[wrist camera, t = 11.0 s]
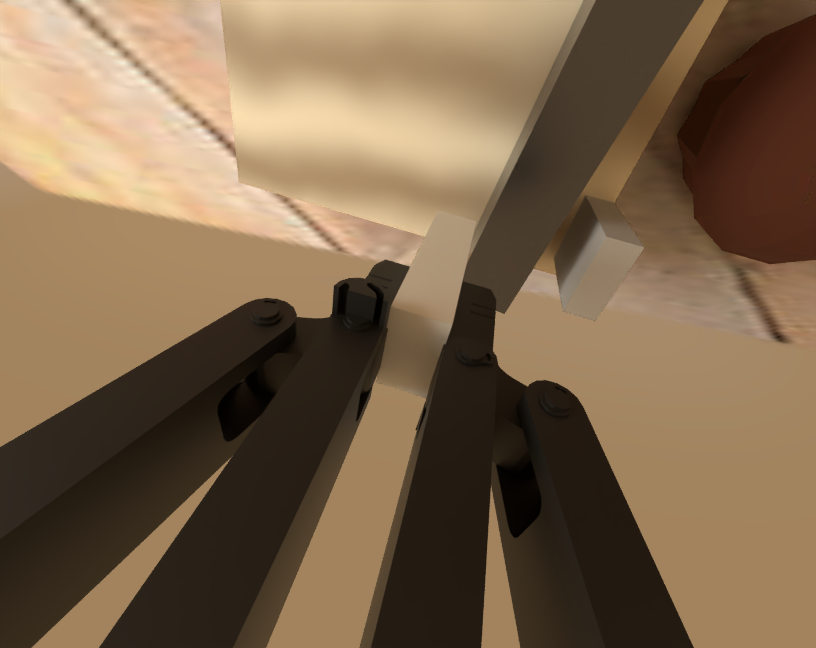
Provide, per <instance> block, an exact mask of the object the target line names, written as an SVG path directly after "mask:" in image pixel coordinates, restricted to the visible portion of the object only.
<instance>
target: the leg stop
mask: <svg viewBox="0 0 816 648" xmlns="http://www.w3.org/2000/svg"><path fill="white" fill-rule="evenodd" d="M644 248H645V247H644V246H643V244H642V243H641V241H640V240H639V238H638V237H637V235H636V234H635V232H634V231H633V229H632V228H631V226H630V225H629V223H628V222H627V220H626V219H625V218H624V216H623V215H622V213H621V212H620V210H619V209H618V207H617V206H616V204H615V203H614V202H610V201H606V200H603V199H599V198H595V197H592V196H588V195H585V197H584V199H583V201H582V203H581V205H580V207H579V209H578V211H577V213H576V215H575V217H574V219H573V221H572V223H571V225H570V227H569V229H568V231H567V233H566V235H565V237H564V239H563V241H562V243H561V245H560V247H559V249H558V251H557V253H556V255H555V257H554V264H555V269H556V275H557V281H558V286H559V292H560V298H561V303H562V309H563V312H566V313H570V314H573V315H576V316H580V317H583V318H587V319H590V320H593V321H596V320H597V318H598V316H599V315H600V314H601V312H602V311H603V309H604V308H605V306H606V305H607V303H608V302H609V300H610V299H611V297H612V296H613V294H614V293H615V291H616V290H617V288H618V287H619V285H620V284H621V282H622V281H623V279H624V278H625V276H626V275H627V273H628V272H629V270H630V269H631V267H632V266H633V264H634V263H635V261H636V260H637V258H638V257H639V255H640V254H641V252H642V251H643V249H644Z"/></svg>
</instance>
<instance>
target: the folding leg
mask: <svg viewBox="0 0 816 648" xmlns="http://www.w3.org/2000/svg"><path fill="white" fill-rule="evenodd" d="M703 1H704V0H583V2H582V5H581V7H580V9H579V11H578V13H577V15H576V17H575V19H574V21H573V24H572V26H571V28H570V30H569V32H568V34H567V36H566V38H565V40H564V43H563V45H562V47H561V49H560V51H559V53H558V55H557V57H556V59H555V62H554V64H553V66H552V68H551V70H550V72H549V74H548V76H547V79H546V81H545V83H544V85H543V87H542V89H541V91H540V93H539V95H538V98H537V100H536V102H535V104H534V106H533V108H532V110H531V112H530V114H529V117H528V119H527V121H526V123H525V125H524V127H523V129H522V131H521V133H520V136H519V138H518V140H517V142H516V144H515V146H514V148H513V150H512V152H511V155H510V157H509V159H508V161H507V163H506V165H505V167H504V169H503V172H502V174H501V176H500V178H499V180H498V182H497V184H496V186H495V188H494V191H493V193H492V195H491V197H490V199H489V201H488V203H487V205H486V207H485V210H484V212H483V214H482V216H481V218H480V220H479V222H478V224H477V226H476V229H475V231H474V233H473V238H472V242H471V246H470V251H469V255H468V259H467V264H466V268H465V272H464V277H463V281H464V282H468V283H471V284H474V285H478V286H481V287H485V288H488V289H491V290H492V292H493V294H494V296H495V298H496V300H497V301H496V311H498V312H501V313H503V314H505V312H506V310H507V309H508V307H509V306H510V304H511V303H512V301H513V300H514V298H515V296H516V295H517V293H518V292H519V290H520V289H521V287H522V285H523V284H524V282H525V281H526V279H527V278H528V276H529V274H530V273H531V271H532V270H533V268H534V267H535V265H536V263H537V262H538V260H539V259H540V257H541V256H542V254H543V252H544V251H545V249H546V248H547V246H548V245H549V243H550V241H551V240H552V238H553V237H554V235H555V234H556V232H557V231H558V229H559V227H560V226H561V224H562V223H563V221H564V220H565V218H566V216H567V215H568V213H569V212H570V210H571V209H572V207H573V205H574V204H575V202H576V201H577V199H578V198H579V196H580V194H581V193H582V191H583V190H584V188H585V187H586V185H587V183H588V182H589V180H590V179H591V177H592V176H593V174H594V172H595V171H596V169H597V168H598V166H599V165H600V163H601V161H602V160H603V158H604V157H605V155H606V154H607V152H608V150H609V149H610V147H611V146H612V144H613V143H614V141H615V139H616V138H617V136H618V135H619V133H620V132H621V130H622V128H623V127H624V125H625V124H626V122H627V121H628V119H629V117H630V116H631V114H632V113H633V111H634V110H635V108H636V106H637V105H638V103H639V102H640V100H641V99H642V97H643V95H644V94H645V92H646V91H647V89H648V88H649V86H650V84H651V83H652V81H653V80H654V78H655V77H656V75H657V73H658V72H659V70H660V69H661V67H662V66H663V64H664V62H665V61H666V59H667V58H668V56H669V55H670V53H671V51H672V50H673V48H674V47H675V45H676V44H677V42H678V40H679V39H680V37H681V36H682V34H683V33H684V31H685V29H686V28H687V26H688V25H689V23H690V22H691V20H692V18H693V17H694V15H695V14H696V12H697V11H698V9H699V8H700V6H701V4H702V3H703Z"/></svg>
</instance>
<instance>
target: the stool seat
mask: <svg viewBox="0 0 816 648" xmlns="http://www.w3.org/2000/svg"><path fill="white" fill-rule="evenodd" d="M582 2H583V0H220V4H221V13H222V23H223V32H224V42H225V52H226V61H227V71H228V81H229V90H230V100H231V110H232V119H233V129H234V139H235V148H236V158H237V168H238V177H239V183H242V184H246V185H249V186H253V187H256V188H260V189H263V190H266V191H270V192H273V193H277V194H280V195H284V196H287V197H290V198H294V199H297V200H301V201H304V202H308V203H311V204H314V205H318V206H321V207H325V208H328V209H332V210H335V211H339V212H342V213H345V214H349V215H352V216H356V217H359V218H363V219H366V220H369V221H373V222H376V223H380V224H383V225H387V226H390V227H393V228H397V229H400V230H404V231H407V232H411V233H414V234H417V235H421V236H424V237H425V236H426V234H427V232H428V230H429V228H430V226H431V224H432V222H433V220H434V217H435V215H436V213H437V211H441V212H444V213H448V214H452V215H455V216H459V217H462V218H466V219H469V220H473V221H476V225H475V229H476V226H477V224H478V222H479V220H480V218H481V216H482V214H483V212H484V210H485V207H486V205H487V203H488V201H489V199H490V197H491V195H492V193H493V191H494V188H495V186H496V184H497V182H498V180H499V178H500V176H501V174H502V172H503V169H504V167H505V165H506V163H507V161H508V159H509V157H510V155H511V152H512V150H513V148H514V146H515V144H516V142H517V140H518V138H519V136H520V133H521V131H522V129H523V127H524V125H525V123H526V121H527V119H528V117H529V114H530V112H531V110H532V108H533V106H534V104H535V102H536V100H537V98H538V95H539V93H540V91H541V89H542V87H543V85H544V83H545V81H546V79H547V76H548V74H549V72H550V70H551V68H552V66H553V64H554V62H555V59H556V57H557V55H558V53H559V51H560V49H561V47H562V45H563V43H564V40H565V38H566V36H567V34H568V32H569V30H570V28H571V26H572V24H573V21H574V19H575V17H576V15H577V13H578V11H579V9H580V7H581V5H582ZM727 2H728V0H704V1H703V3H702V4H701V6H700V8H699V9H698V11H697V12H696V14H695V15H694V17H693V18H692V20H691V22H690V23H689V25H688V26H687V28H686V29H685V31H684V33H683V34H682V36H681V37H680V39H679V40H678V42H677V44H676V45H675V47H674V48H673V50H672V51H671V53H670V55H669V56H668V58H667V59H666V61H665V62H664V64H663V66H662V67H661V69H660V70H659V72H658V73H657V75H656V77H655V78H654V80H653V81H652V83H651V84H650V86H649V88H648V89H647V91H646V92H645V94H644V95H643V97H642V99H641V100H640V102H639V103H638V105H637V106H636V108H635V110H634V111H633V113H632V114H631V116H630V117H629V119H628V121H627V122H626V124H625V125H624V127H623V128H622V130H621V132H620V133H619V135H618V136H617V138H616V139H615V141H614V143H613V144H612V146H611V147H610V149H609V150H608V152H607V154H606V155H605V157H604V158H603V160H602V161H601V163H600V165H599V166H598V168H597V169H596V171H595V172H594V174H593V176H592V177H591V179H590V180H589V182H588V183H587V185H586V187H585V188H584V190H583V191H582V193H581V194H580V196H579V198H578V199H577V201H576V202H575V204H574V205H573V207H572V209H571V210H570V212H569V213H568V215H567V216H566V218H565V220H564V221H563V223H562V224H561V226H560V227H559V229H558V231H557V232H556V234H555V235H554V237H553V238H552V240H551V241H550V243H549V245H548V246H547V248H546V249H545V251H544V252H543V254H542V256H541V257H540V259H539V260H538V262H537V263H536V265H535V267H534V269H537V270H541V271H544V272H548V273H551V274H555V275H556V269H555V264H554V257H555V255H556V253H557V251H558V249H559V247H560V245H561V243H562V241H563V239H564V237H565V235H566V233H567V231H568V229H569V227H570V225H571V223H572V221H573V219H574V217H575V215H576V213H577V211H578V209H579V207H580V205H581V203H582V201H583V199H584V197H585V195H588V196H592V197H595V198H599V199H603V200H606V201H610V202H614V203H615V201H616V199H617V197H618V196H619V194H620V192H621V190H622V189H623V187H624V185H625V183H626V181H627V180H628V178H629V176H630V174H631V173H632V171H633V169H634V167H635V165H636V164H637V162H638V160H639V158H640V157H641V155H642V153H643V151H644V149H645V148H646V146H647V144H648V142H649V141H650V139H651V137H652V135H653V133H654V132H655V130H656V128H657V126H658V124H659V123H660V121H661V119H662V117H663V116H664V114H665V112H666V110H667V108H668V107H669V105H670V103H671V101H672V100H673V98H674V96H675V94H676V92H677V91H678V89H679V87H680V85H681V84H682V82H683V80H684V78H685V76H686V75H687V73H688V71H689V69H690V68H691V66H692V64H693V62H694V60H695V59H696V57H697V55H698V53H699V52H700V50H701V48H702V46H703V44H704V43H705V41H706V39H707V37H708V36H709V34H710V32H711V30H712V28H713V27H714V25H715V23H716V21H717V20H718V18H719V16H720V14H721V12H722V11H723V9H724V7H725V5H726V4H727ZM475 229H474V231H475Z"/></svg>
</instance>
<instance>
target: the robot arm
mask: <svg viewBox="0 0 816 648" xmlns="http://www.w3.org/2000/svg"><path fill="white" fill-rule="evenodd" d="M475 225H476V221H473V220H469V219H466V218H462V217H459V216H455V215H452V214H448V213H444V212H441V211H437V213H436V215H435V217H434V220H433V222H432V224H431V226H430V228H429V230H428V232H427V234H426V236H425V238H424V240H423V242H422V244H421V246H420V248H419V250H418V252H417V254H416V256H415V258H414V260H413V262H412V264H411V266H410V267H409V266H406V265H402V264H399V263H395V262H392V261H388V260H384V261H382V262H380V263H378V264H376V265H374V267H373V268H372V270H371V271H370V273H369V275H368V276H367V277H366V279H363V278H348V279H345V280H342V281H340V282H338V283H337V284H336V285H334V295H333V308H332V314H331V316H330V317H328V318H318V319H317V318H316V319H315V318H301V317H297V314H296V312H295V310H294V308H293V307H292V306H291V305H290V304H288V303H287V302H285V301H281V300H279V299H271V298H264V299H257V300H253V301H251V302H248V303H246V304H244V305H242V306H240V307H239V308H237V309H235V310H233V311H232V312H231V313H228V314H227V315H225V316H223V317H222V318H220V319H218V320H217V321H215V322H213V323H211V324H210V325H208V326H206V327H204V328H203V329H201V330H199V331H198V332H196V333H194V334H193V335H191V336H189V337H188V338H186V339H184V340H182V341H181V342H179V343H177V344H175V345H174V346H172V347H170V348H169V349H167V350H165V351H163V352H162V353H160V354H158V355H157V356H155V357H153V358H152V359H150V360H148V361H147V362H145V363H143V364H141V365H140V366H138V367H136V368H135V369H133V370H131V371H129V372H128V373H126V374H124V375H123V376H121V377H119V378H118V379H116V380H114V381H112V382H111V383H109V384H107V385H106V386H104V387H102V388H100V389H99V390H97V391H95V392H94V393H92V394H90V395H88V396H87V397H85V398H83V399H82V400H80V401H78V402H76V403H75V404H73V405H72V406H70V407H68V408H66V409H65V410H63V411H61V412H60V413H58V414H56V415H54V416H53V417H51V418H49V419H47V420H46V421H44V422H42V423H41V424H39V425H37V426H36V427H34V428H32V429H30V430H29V431H27V432H25V433H24V434H22V435H20V436H18V437H17V438H15V439H14V440H12V441H10V442H8V443H6V444H5V445H3V446H2V447H0V648H31V647H32V646H34V645H35V644H36V643H37V642H38V641H39V640H40V639H41V638H42V637H43V636H44V635H45V634H46V633H47V632H48V631H49V630H50V629H51V628H52V627H53V626H54V625H55V624H57V623H58V622H59V621H60V620H61V619H62V618H63V617H64V616H65V615H66V614H67V613H68V612H69V611H70V610H71V609H72V608H73V607H74V606H75V605H77V604H78V603H79V602H80V601H81V600H82V599H83V598H84V597H85V596H86V595H87V594H88V593H89V592H90V591H91V590H92V589H93V588H94V587H95V586H96V585H97V584H99V583H100V582H101V581H102V580H103V579H104V578H105V577H106V576H107V575H108V574H109V573H110V572H111V571H112V570H113V569H114V568H115V567H116V566H117V565H118V564H119V563H121V562H122V561H123V559H125V558H126V557H127V556H128V555H129V554H130V553H131V552H132V551H133V550H134V549H135V548H136V547H137V546H138V545H139V544H140V543H141V542H143V541H144V540H145V539H146V538H147V537H148V536H149V535H150V534H151V533H152V532H153V531H154V530H155V529H156V528H157V527H158V526H159V525H160V524H161V523H163V522H164V521H165V520H166V519H167V518H168V517H169V516H170V515H171V514H172V513H173V512H174V511H175V510H176V509H177V508H178V507H179V506H180V505H181V504H182V503H183V502H185V501H186V500H187V499H188V498H189V497H190V496H191V495H192V494H193V493H194V492H195V491H196V490H197V489H198V488H199V487H200V486H201V485H202V484H203V483H204V482H205V481H207V480H208V479H209V478H210V477H211V476H212V475H213V474H214V473H215V472H216V471H217V470H218V469H219V468H220V467H221V466H222V465H223V464H224V463H225V462H226V461H228V460H229V459H230V458H231V457H232V458H231V459H230V461H229V462H228V464H227V465H226V466H225V468H224V469H223V471H222V472H221V474H220V475H219V476H218V478H217V479H216V481H215V482H214V484H213V485H212V487H211V488H210V490H209V491H208V492H207V494H206V495H205V497H204V498H203V499H202V501H201V502H200V504H199V505H198V507H197V508H196V510H195V511H194V512H193V514H192V515H191V517H190V518H189V520H188V521H187V522H186V524H185V525H184V527H183V528H182V530H181V531H180V532H179V534H178V535H177V537H176V538H175V540H174V541H173V543H172V544H171V545H170V547H169V548H168V550H167V551H166V552H165V554H164V555H163V557H162V558H161V560H160V561H159V563H158V564H157V565H156V567H155V568H154V570H153V571H152V573H151V574H150V575H149V577H148V578H147V580H146V581H145V583H144V584H143V585H142V587H141V588H140V590H139V591H138V593H137V594H136V595H135V597H134V599H133V600H132V601H131V603H130V604H129V606H128V607H127V609H126V610H125V611H124V613H123V614H122V616H121V617H120V618H119V620H118V621H117V623H116V624H115V626H114V627H113V629H112V630H111V632H110V633H109V634H108V636H107V637H106V639H105V640H104V642H103V643H102V644H101V646H100V647H99V648H266V647H267V644H268V642H269V639H270V637H271V634H272V632H273V630H274V627H275V625H276V623H277V620H278V618H279V615H280V613H281V610H282V608H283V606H284V603H285V601H286V598H287V596H288V594H289V591H290V589H291V586H292V584H293V582H294V579H295V577H296V575H297V572H298V570H299V567H300V565H301V563H302V560H303V558H304V555H305V553H306V551H307V548H308V546H309V543H310V541H311V538H312V536H313V534H314V531H315V529H316V526H317V524H318V522H319V519H320V517H321V515H322V512H323V510H324V507H325V505H326V502H327V500H328V498H329V495H330V493H331V491H332V488H333V486H334V483H335V481H336V479H337V476H338V474H339V471H340V469H341V467H342V464H343V462H344V459H345V457H346V455H347V452H348V450H349V447H350V445H351V442H352V440H353V438H354V435H355V433H356V431H357V428H358V426H359V423H360V421H361V419H362V416H363V414H364V411H365V409H366V407H367V404H368V402H369V399H370V397H371V391H372V386H373V383H374V381H375V379H376V376H377V379H376V382H377V383H380V384H383V385H386V386H389V387H393V388H396V389H399V390H402V391H405V392H408V393H411V394H415V395H418V396H421V397H424V398H426V402H425V404H424V407H423V410H422V413H421V416H420V419H419V422H418V425H417V427H416V430H417V432H416V436H415V439H414V444H413V447H412V451H411V455H410V459H409V462H408V466H407V470H406V474H405V477H404V481H403V485H402V489H401V492H400V496H399V500H398V504H397V508H396V512H395V515H394V519H393V523H392V526H391V530H390V534H389V538H388V542H387V546H386V549H385V553H384V557H383V561H382V565H381V568H380V572H379V576H378V580H377V583H376V587H375V591H374V595H373V599H372V602H371V606H370V610H369V614H368V618H367V621H366V625H365V629H364V633H363V637H362V640H361V644H360V648H481V641H482V625H483V608H484V591H485V575H486V557H487V540H488V523H489V507H490V490H491V486H492V492H493V498H494V503H495V509H496V514H497V520H498V525H499V531H500V537H501V542H502V548H503V553H504V559H505V564H506V570H507V576H508V581H509V587H510V592H511V597H512V603H513V609H514V614H515V619H516V625H517V631H518V637H519V642H520V648H694V647H693V645H692V643H691V641H690V639H689V637H688V634H687V632H686V630H685V628H684V625H683V623H682V621H681V619H680V617H679V615H678V612H677V610H676V608H675V606H674V604H673V602H672V599H671V597H670V595H669V593H668V591H667V588H666V586H665V584H664V582H663V580H662V578H661V575H660V573H659V571H658V569H657V567H656V564H655V562H654V560H653V558H652V556H651V554H650V552H649V549H648V547H647V545H646V543H645V541H644V538H643V536H642V534H641V532H640V530H639V528H638V525H637V523H636V521H635V519H634V517H633V515H632V512H631V510H630V508H629V506H628V504H627V501H626V499H625V497H624V495H623V493H622V490H621V488H620V486H619V484H618V482H617V479H616V477H615V475H614V473H613V471H612V469H611V466H610V464H609V462H608V460H607V458H606V456H605V453H604V451H603V449H602V447H601V445H600V442H599V440H598V438H597V436H596V434H595V432H594V429H593V427H592V425H591V423H590V421H589V419H588V416H587V414H586V412H585V410H584V408H583V406H582V405H581V403H580V401H579V400H578V398H577V397H576V396H575V395H574V394H572V393H571V392H570V391H569V390H568V389H566V388H565V387H563V386H561V385H559V384H557V383H554V382H550V381H546V380H544V381H535V382H533V383H531V384H529V386H528V387H527V386H525V385H524V384H522V383H520V382H519V381H517V380H515V379H513V378H512V377H510V376H509V375H507V374H506V373H505V372H504V371H503V370H502V369H501V368H500V367H499V366H498V361H497V357H496V355H495V354H494V352H493V339H494V326H495V314H496V312H495V311H496V301H497V300H496V298H495V296H494V294H493V292H492V290H491V289H488V288H485V287H481V286H478V285H474V284H471V283H468V282H464V281H463V277H464V272H465V268H466V264H467V259H468V255H469V251H470V246H471V242H472V238H473V233H474V229H475Z"/></svg>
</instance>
